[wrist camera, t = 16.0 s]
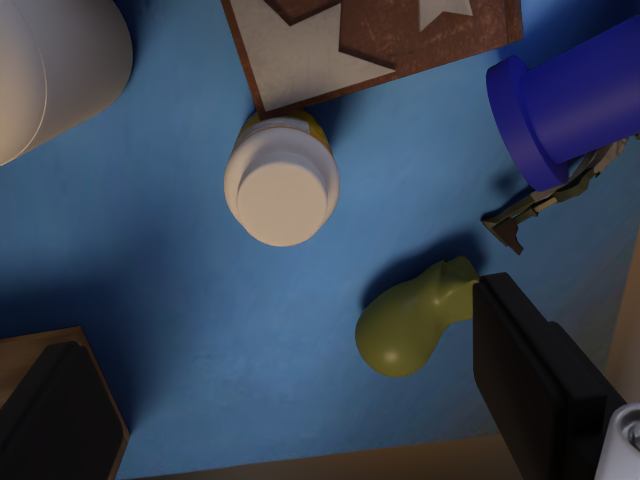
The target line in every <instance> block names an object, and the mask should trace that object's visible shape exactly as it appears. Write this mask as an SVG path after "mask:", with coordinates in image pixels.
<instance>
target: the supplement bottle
mask: <svg viewBox="0 0 640 480" xmlns="http://www.w3.org/2000/svg"><path fill="white" fill-rule="evenodd" d="M339 191H340V179H339V174H338V169H337V166H336V163H335V160H334V157H333V154H332V152H331V149H330V146H329V143H328V140H327V137H326V135H325V132H324V130H323V128H322V127H321V125H320V123H319V122H318V121H317V119H316V118H315V117H314V116H313V115H312V114H310V113H309V112H307V111H306V110H304V109H299V110H295V111H292V112H289V113H286V114H282V115H279V116H276V117H273V118H269V119H265V120H263V121H260V119H259V116H258V113H257V111H256V112H255V113H254V114H252V115H251V116H250V117H249V118H248V119H247V121H246V122H245V123H244V125H243V127H242V129H241V131H240V133H239V135H238V137H237V140H236V142H235V145H234V148H233V150H232V153H231V155H230V158H229V161H228V163H227V166H226V169H225V174H224V193H225V198H226V201H227V204H228V206H229V208H230V210H231V212H232V214H233V215H234V217H235V218H236V219H237V220H238V221H239V222H240V224H242V225H243V226H244V228H245V229H246V230H247V231H248V232H249V233H250V234H251V235H252V236H253V237H254V238H256V239H257V240H259V241H261V242H263V243H266V244H269V245H273V246H292V245H296V244H299V243H301V242H304V241H305V240H307V239H309V238H310V237H312V236H313V235H314V234H315V233H316V232H317V231H318V229H319V228H320V227H321V226H322V225H323V224H324V223H325V222H326V221H327V220H328V218H329V217H330V216H331V214H332V212H333V211H334V209H335V207H336V204H337V201H338V197H339Z"/></svg>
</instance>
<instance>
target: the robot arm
mask: <svg viewBox="0 0 640 480" xmlns="http://www.w3.org/2000/svg"><path fill="white" fill-rule="evenodd" d="M472 298H473V371H474V377H475V381H476V384H477V387H478V389H479V391H480V393H481V395H482V397H483V399H484V401H485V403H486V405H487V407H488V409H489V411H490V413H491V415H492V417H493V419H494V421H495V423H496V425H497V427H498V429H499V431H500V433H501V435H502V437H503V439H504V441H505V443H506V445H507V447H508V449H509V451H510V453H511V455H512V457H513V459H514V461H515V463H516V465H517V467H518V469H519V471H520V473H521V475H522V477H523V479H524V480H640V403H631V404H627V403H626V402H625V400H624V399H623V398H622V397H621V396H620V395H619V393H617V391H616V390H615V389H614V387H613V386H612V385H611V384H610V383H609V382H608V380H607V379H606V378H605V377H604V376H603V375H602V373H601V372H600V371H599V370H598V369H597V368H596V366H595V365H594V364H593V363H592V362H591V361H590V359H589V358H588V357H587V356H586V355H585V354H584V352H583V351H582V350H581V349H580V348H579V347H578V345H577V344H576V343H575V342H574V341H573V340H572V338H571V337H570V336H569V335H568V334H567V333H566V331H565V330H564V329H563V328H562V327H561V326H560V325H559V324H558V323H556V322H553V321H552V322H547V321H546V319H545V318H544V317H543V316H542V315H541V313H540V312H539V311H538V310H537V309H536V307H535V306H534V305H533V304H532V302H531V301H530V300H529V299H528V298H527V296H526V295H525V294H524V293H523V292H522V290H521V289H520V288H519V287H518V286H517V284H516V283H515V282H514V281H513V279H512V278H511V277H510V276H509V275H508V274H507V273H506V272H503V273H497V274H490V275H484V276H481V277H480V280H479V283H474V284H473V288H472ZM122 440H123V427H122V424H121V422H120V420H119V417H118V415H117V413H116V411H115V409H114V407H113V404H112V402H111V400H110V398H109V396H108V393H107V391H106V389H105V387H104V385H103V383H102V380H101V378H100V376H99V374H98V372H97V370H96V367H95V365H94V363H93V361H92V359H91V357H90V354H89V352H88V350H87V348H86V347H85V346H80V345H79V344H78V343H77V342H76V341H68V342H62V343H56V344H50V345H48V346H47V347H46V348H45V349H44V350H43V351H42V353H41V354H40V356H39V357H38V358H37V360H36V361H35V362H34V364H33V365H32V367H31V368H30V369H29V371H28V372H27V373H26V375H25V376H24V378H23V379H22V380H21V382H20V383H19V384H18V386H17V387H16V388H15V390H14V391H13V393H12V394H11V395H10V397H9V398H8V399H7V401H6V402H5V404H4V405H3V406H2V408H1V409H0V480H107V479H108V476H109V474H110V471H111V468H112V466H113V463H114V461H115V458H116V456H117V453H118V451H119V448H120V446H121V443H122Z"/></svg>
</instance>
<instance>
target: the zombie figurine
mask: <svg viewBox="0 0 640 480" xmlns="http://www.w3.org/2000/svg"><path fill="white" fill-rule="evenodd" d="M636 139H637V140H640V133H638V135H637V137H636ZM627 140H628V137H627V138H624V139H622V140H619V141H617V142H614V143H611V144H609V145H606V146H604V147H601V148H598V149H596V150H593V151H590V152H588V154H587V155H586V156H585V158H584V159H583V160H582V162H581V163H580V165H579V166H578V167H577V169H576V170H575V172H574V173H573V174H572V176H571V177H569V178H568V181H567V183H565V184H562V185H559V186H556V187H554V188H551V189H548V190H545V191H542V192H538V191H535V192H533V193H531V194H530V196H528V197H527V198H525V199H523V200H521V201H520V202H518V203H517V204H515V205H514V206H512V207H511V208H509V209H508V210H506V211H505V212H503V213H502V214H500V215H498V216H495V217H492V218H488V219H483V220H480V221H481V222H482V223H483V224H484V226H485V227H486V228H487V229H488V230H489V231H490V232H491V233H492V234H493V235H494V236H495V237H496V238H497V239H498V240H499V241H501V242H502V243H503V244H504V245H505V246H506V247H507V246H510V247H511V248H512V249H513V250H514V251H515V252H516V253H517V254H518V255H520V254H521V252H522V250H523V249H524V248H523V247H522V246H521V245H520V244H519V242H518V241H517V237H516V233H517V231H518V225H517V224H519V223H521V222H523V221H524V220H526V219H528V218H530V217H531V216H534V217H537V216H538V213H539V211H540V210H542V209H544V208H546V207H548V206H550V205H552V204H554V203H558V202H563V201H565V200H567V199H569V198H572V197H574V196H578V195H580V194H581V193H583V192H584V191H585V190H587V188H588V184H589V180H590V179H591V178H592V177H593V176H594V175H596V176H595V178H596V177H597V176H598V175H600V174H601V173H602V171H603V170H604V169H605V168H606V166H607V165H608V164H609V163H610V162H612V161H613V160H614V159H615V158H616V157H617V156H618V155H619V154H620V153H621V152H623V150H624V147H625V145H626V142H627ZM521 212H522V213H521ZM519 213H521V214H519ZM517 214H519V215H517ZM515 215H517V216H515ZM512 216H515V217H514V218H510V217H512Z"/></svg>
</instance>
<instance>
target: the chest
mask: <svg viewBox="0 0 640 480" xmlns="http://www.w3.org/2000/svg"><path fill="white" fill-rule="evenodd" d="M68 341H76V342H77V343H78V344H79V345H80V346H85V347H86V348H87V350H88V352H89V354H90V357H91V359H92V361H93V363H94V365H95V367H96V370H97V372H98V374H99V376H100V378H101V380H102V383H103V385H104V387H105V389H106V391H107V393H108V396H109V398H110V400H111V402H112V404H113V407H114V409H115V411H116V413H117V415H118V417H119V420H120V422H121V424H122V427H123V440H122V443H121V446H120V448H119V451H118V453H117V456H116V458H115V461H114V463H113V466H112V468H111V471H110V474H109V476H108V479H107V480H115V477H116V474H117V472H118V469H119V466H120V464H121V461H122V458H123V455H124V453H125V450H126V447H127V444H128V441H129V439H130V434H129V431H128V429H127V427H126V425H125V423H124V420H123V418H122V416H121V414H120V412H119V409H118V407H117V405H116V403H115V401H114V398H113V396H112V394H111V392H110V390H109V387H108V385H107V383H106V381H105V379H104V376H103V374H102V372H101V370H100V368H99V365H98V363H97V361H96V359H95V357H94V354H93V352H92V350H91V348H90V346H89V343H88V341H87V339H86V337H85V335H84V332H83V330H82V328H81V326H77V327H71V328H65V329H59V330H53V331H47V332H41V333H35V334H29V335H23V336H17V337H10V338H4V339H0V409H1V408H2V406H3V405H4V404H5V402H6V401H7V399H8V398H9V397H10V395H11V394H12V393H13V391H14V390H15V388H16V387H17V386H18V384H19V383H20V382H21V380H22V379H23V378H24V376H25V375H26V373H27V372H28V371H29V369H30V368H31V367H32V365H33V364H34V362H35V361H36V360H37V358H38V357H39V356H40V354H41V353H42V351H43V350H44V349H45V348H46V347H47V346H48V345H50V344H56V343H62V342H68Z"/></svg>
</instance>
